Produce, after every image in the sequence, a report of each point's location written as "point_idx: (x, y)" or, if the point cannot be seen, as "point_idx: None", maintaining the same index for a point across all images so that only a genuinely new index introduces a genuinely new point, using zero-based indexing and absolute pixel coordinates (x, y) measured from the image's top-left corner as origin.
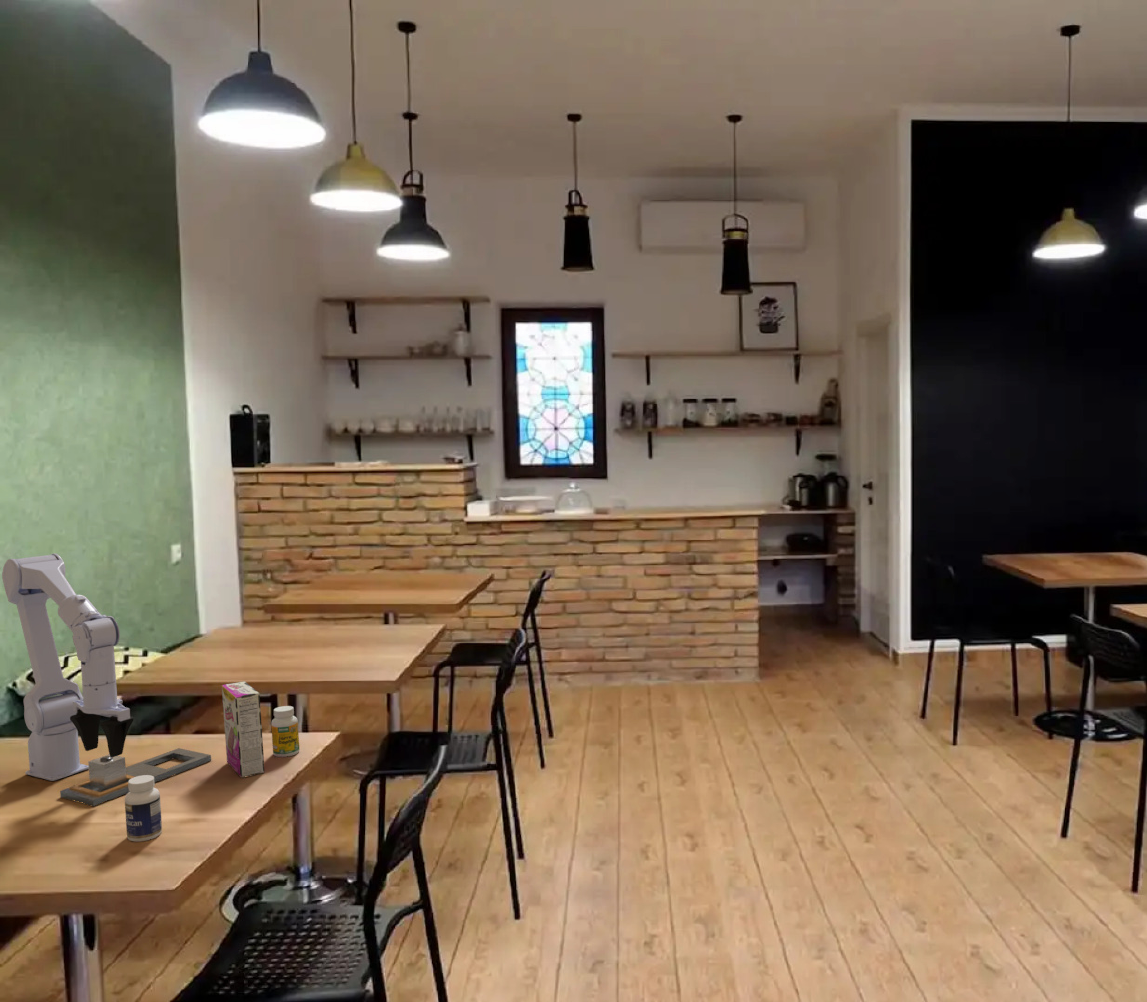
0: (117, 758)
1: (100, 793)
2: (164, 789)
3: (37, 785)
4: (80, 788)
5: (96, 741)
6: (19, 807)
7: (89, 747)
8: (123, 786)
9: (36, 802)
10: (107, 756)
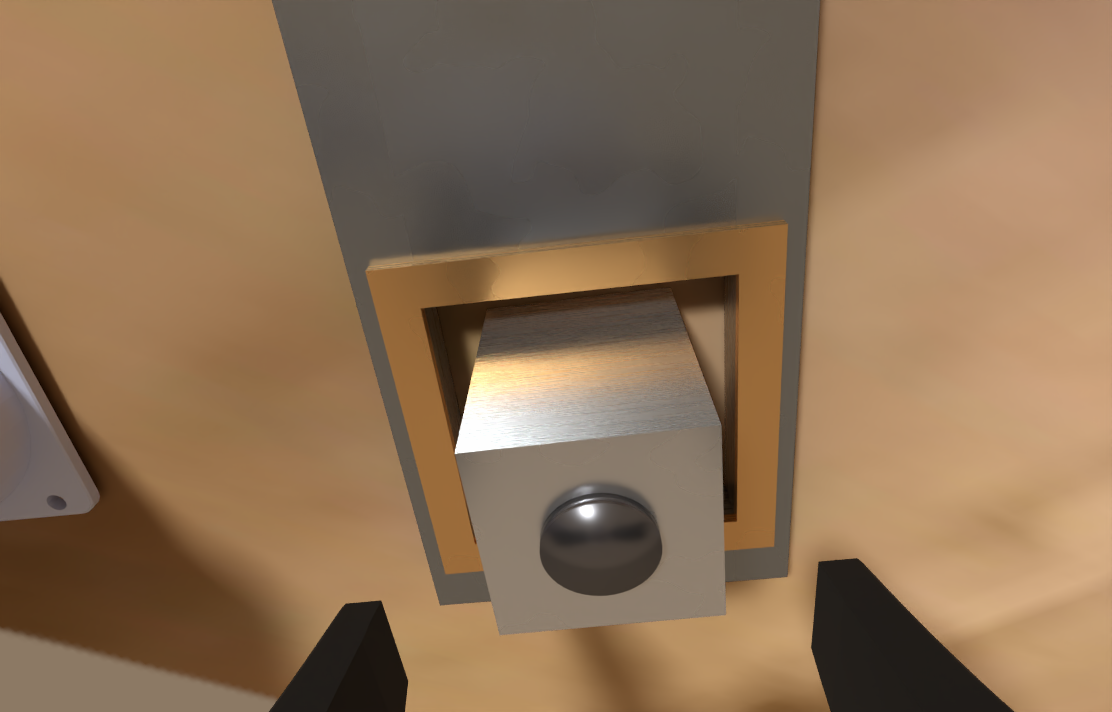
0: (676, 477)
1: (757, 530)
2: (1016, 142)
3: (104, 560)
4: None
5: (362, 671)
6: (414, 708)
7: (393, 692)
8: (777, 384)
9: (412, 654)
10: (563, 528)
